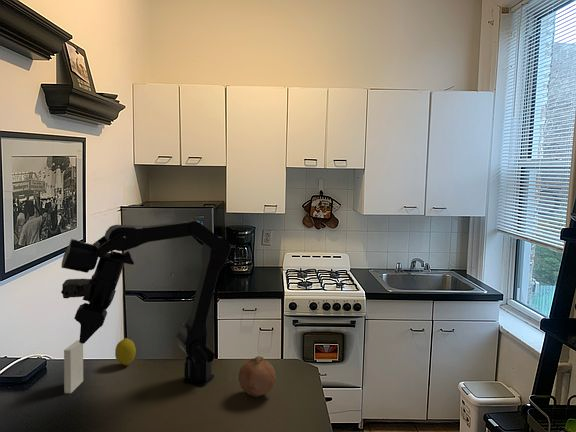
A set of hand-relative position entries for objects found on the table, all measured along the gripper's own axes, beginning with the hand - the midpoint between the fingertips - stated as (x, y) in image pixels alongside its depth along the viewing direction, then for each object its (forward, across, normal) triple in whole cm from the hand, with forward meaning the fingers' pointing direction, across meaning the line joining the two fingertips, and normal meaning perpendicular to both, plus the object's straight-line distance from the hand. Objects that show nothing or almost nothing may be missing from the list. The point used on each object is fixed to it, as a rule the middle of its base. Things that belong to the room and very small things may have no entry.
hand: (85, 334), depth 111 cm
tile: (+17, -4, +2) cm, 17 cm away
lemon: (+14, -16, +13) cm, 25 cm away
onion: (+1, +8, +44) cm, 45 cm away
